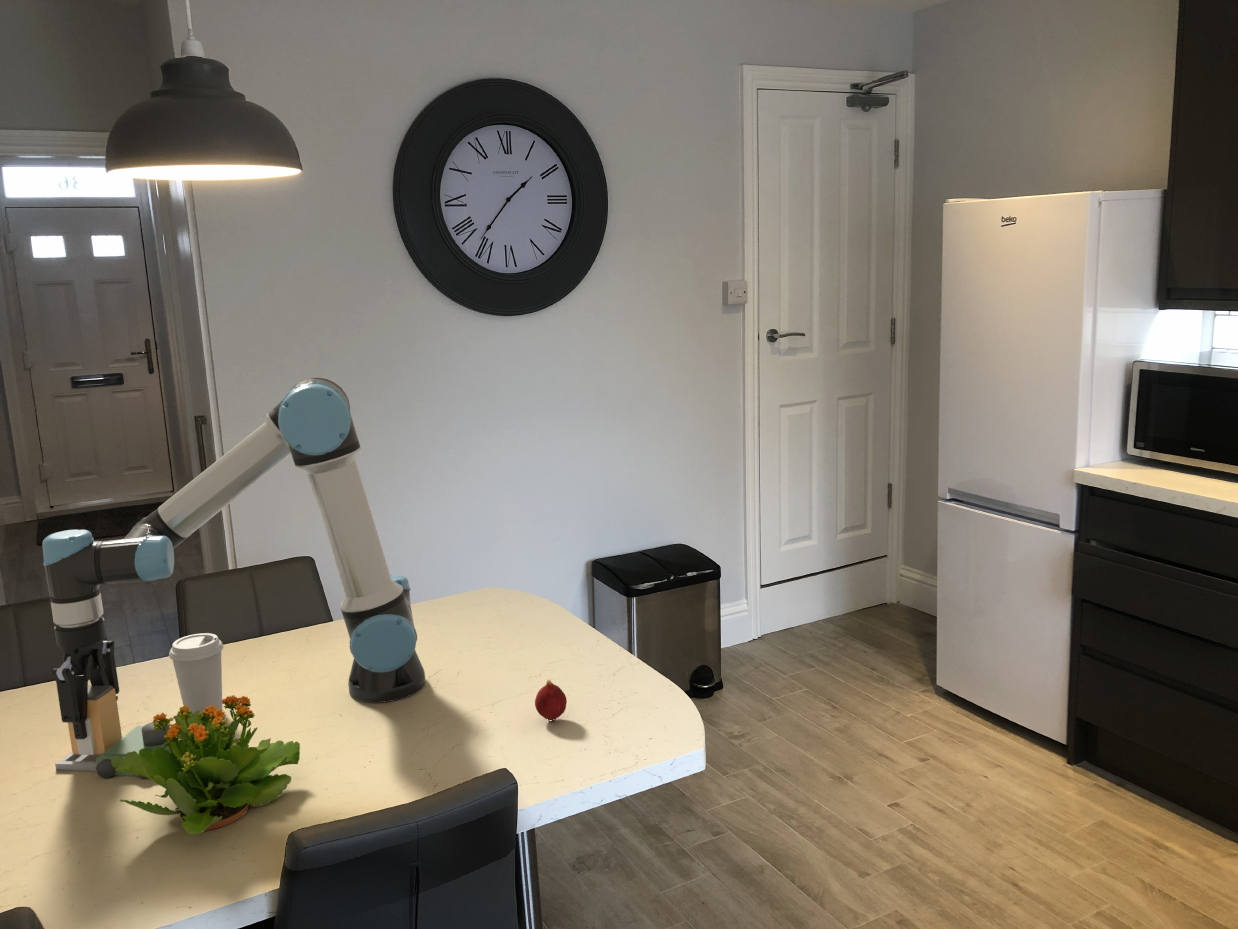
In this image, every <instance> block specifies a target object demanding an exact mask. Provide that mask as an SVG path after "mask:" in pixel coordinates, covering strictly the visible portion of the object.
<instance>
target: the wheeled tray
mask: <svg viewBox="0 0 1238 929" xmlns="http://www.w3.org/2000/svg"><path fill="white" fill-rule="evenodd" d="M153 727H154V725H153V721H151V722H149V723H146V724H145V725H136V726H134V728H132V730H130V731H129V732H127V733H126V734H125V735H124V736H122V738H121V739H120V740H119V741H117V742H116V743H115V744H114V745H112V746H111V747H110V748H109V749H107V750H106V751H105V752H104V753H102V754H94V755H79V754H73V753H72V751H71V752H69V753H68V754H66V755H65V756H64V757H63V758H61V759H59V760H58V761H57V762H55V770H56V771H68V772H69V771H70V772H71V771H72V772H74V771H77V772H83V771H84V772H96V773H97V775H98V776H99V777H101V778H103V779H108V778H110V777H113V776H129V777H131V776H133V777H134V776H137V777H139V778H140V779H142V780H143V779H144V780H147V779H149V778H147V777H144V776H141V775H137V774H133V773H125V772H116V770H117V767H116V768H113V766H112V764H111V760H112V759H113V758H115V756H116V755H118V756H121V757H123V758H124V757H125V756H124V755H125V754H127V753H128V752H133V751H136V752H137V753H138V754H139V750H140V749H143V748H147V749H149V748H150V749H152V751H153V752H154V750H155V748H156V747H162V748H165V750H168V751H169V748H168V747H167V746H164V745H165V744H164V743H165V742H167V740H166V738H164V736H165V734H164V732H163V730H161V729H158V730H154V728H153ZM170 727H171V726H166V728H165V729H164V730H165V732H166V735H167V731H168V730H169V729H170ZM161 728H162V727H161ZM178 740H181V739H178ZM177 759H178V758H177ZM115 769H116V770H115Z"/></svg>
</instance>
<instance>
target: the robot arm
mask: <svg viewBox="0 0 1238 929" xmlns="http://www.w3.org/2000/svg"><path fill="white" fill-rule="evenodd" d="M265 417H266V418H265V419H266V420H265V422H263V423H262V424H261V425H260V426H259V427H257V428H256V429H255V430H253V431H252V432H251V433H250V434H248V435H247V436H246V437H245V438H244V439H242V440H241V441H240V442H238V443H237V444H236V445H235V446H233V447H232V448H231V449H229V450H228V451H227V452H226V453H225V454H223V455H222V456H221V457H220V458H218V459H217V460H216V461H215V462H213V463H212V464H211V465H210V466H208V467H207V468H205V469H204V470H203V471H202V472H200V474H198V475H197V476H196V477H194V478H193V479H192V480H191V481H190V482H188V483H187V484H186V485H184V486H183V487H182V488H180V489H179V490H178V491H177V492H176V493H175V494H173V495H172V496H171V497H169V498H168V499H167V500H166V501H164V502H163V503H162V504H161V505H159V506H158V508H156V509H155V510H154V511H152V512H151V513H149V515H147V516H146V517H143V518H142V519H140V520H139V521H138V522H136V524H134V525H133V526H132V528H131V530H130V531H129V532H128V533H127V534H126V535H125V537H124V538H118V539H112V540H95V539H94V537H93V534H92V532H91V531H90V530H87V529H67V530H62V531H58V532H54V533H51V534H48V535H47V536H46V537H45V538H44V539H43V540H42V544H41V545H42V554H43V557H42V558H43V563H42V564H43V565H42V566H44V572H45V578H46V582H47V590H48V593H49V600H50V606H51V613H52V620H53V624H55V626H54V627H53V628H54V634H55V642H56V645H57V647H58V648H60V649H61V650H62V651H63V659H62V665H61V666H60V667H59V668H58V667H57V668H56V667H55V668H53V669H52V671H51V674H52V676H53V678H54V680H55V682H56V684H55V685H56V689H57V690H56V692H57V697H58V703H59V711H60V717H61V722H62V723H67V724H68V723H73V728H74V735H75V738H76V740H77V746H78V753H79V755H94V754H95V753H96V748H95V742H94V735H93V728H92V722H91V718H87V700H88V685H89V684H88V683H89V682H90V685H106V686H113V688H115V693H116V700H117V701H118V700H119V697H118V694H119V692H120V685H119V684H120V683H119V678H118V672H117V666H116V659H115V641H114V640H105V638H106V636H107V630H106V622H105V618H104V617H103V616H102V615H104V608H103V601H102V593H101V589H100V586H104V585H112V584H113V585H114V584H115V585H116V584H125V583H126V584H127V583H135V582H136V583H137V582H153V581H155V580H161V579H167V578H169V577H170V576H172V574H173V572H174V566H175V552H174V549H175V548H177V547H178V546H179V545H180V544H181V543H184V541H185V540H187V538H189V537H190V536H192V534H193V533H194V532H196V531H197V530H198V529H200V528H201V527H202V526H203V525H205V524H206V523H207V522H208V521H210V520H211V519H212V518H214V516H216V515H217V514H218V513H219V512H221V511H222V510H223V509H225V508H226V507H228V506H229V504H231V503H233V501H235V500H236V499H237V498H239V497H240V496H241V495H242V494H244V493H245V492H246V491H247V490H249V489H250V488H251V487H252V486H254V485H255V484H256V483H257V482H259V481H260V480H261V479H262V478H264V477H265V476H266V475H267V474H268V473H270V472H271V471H272V470H274V469H275V468H276V467H278V465H280V464H281V463H283V462H284V461H285V460H286V459H287V458H289V457H290V456H291V457H292V460H293V463H294V466H295V467H296V468H297V469H299V470H301V471H303V472H305V473H306V475H307V478H308V480H309V484H310V486H311V491H312V494H313V497H314V501H315V504H316V506H317V509H318V512H319V516H320V519H321V521H322V522H321V523H322V526H323V528H324V531H325V534H326V538H327V540H328V544H329V547H330V550H331V554H332V557H333V560H334V563H335V566H336V569H337V573H338V576H339V579H340V582H341V584H342V588H343V592H344V594H345V595H344V597H343V600H342V602H341V603H340V604H339V605H340V610H341V614H342V617H343V620H344V623H345V624H344V625H345V626H346V630H347V633H348V636H349V650H350V653H351V655H352V657H353V661H352V665H351V668H350V673H349V677H348V683H347V684H348V693H349V695H350V697H352V698H353V699H355V700H357V701H361V702H366V703H387V702H388V703H389V702H394V701H398V700H402V699H405V698H409V697H410V696H413V695H415V694H417V693H419V692H420V691H422V689H423V688H424V687H425V686H426V685H425V684H426V673H425V672H426V671H425V669H424V667H423V664H422V662H421V661H420V657H419V656H418V654H417V651H416V645H417V641H418V632H417V631H416V628H415V623H414V618H413V612H412V611H413V610H412V606H411V594H410V591H411V587H410V584H409V579H408V578H407V577H406V576H404V575H399V574H390V570H389V567H388V564H387V561H386V557H385V555H384V551H383V547H382V544H381V540H380V538H379V534H378V530H377V526H376V525H375V520H374V518H373V514H372V511H371V507H370V504H369V501H368V500H369V499H368V498H367V494H366V490H365V488H364V484H363V481H362V477H361V475H360V471H359V467H358V465H357V461H356V458H357V456H358V455H359V452H360V450H361V449H362V448H361V443H360V441H359V437H358V434H357V430H356V427H355V424H354V421H353V417H352V413H351V404H350V400H349V398H348V396H347V394H346V392H345V391H344V390H343V388H342V387H341V386H340V385H339V384H337V383H336V382H334V381H332V380H330V379H329V378H328V379H327V378H324V377H309V378H306V379H304V380H303V379H302V380H301V381H299V382H297V384H295V385H294V386H292V388H291V389H289V391H288V392H287V393H286V395H285V396H284V397H283V398H282V400H280V401H279V402H278V404H276V405H275V406H274V407H273V408H272V409H271V410H269V411H268V412H267V413H266V416H265ZM79 713H80V714H79Z"/></svg>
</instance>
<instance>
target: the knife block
mask: <svg viewBox="0 0 1238 929" xmlns="http://www.w3.org/2000/svg"><path fill="white" fill-rule="evenodd" d="M116 696H117V694H116V693H115V688H113V686H106V685H91V684H90V685H89V684H88V700H87V718H91V722H92V728H93V735H94V742H95V748H96V753H95V754H102V753H104V752H105V751H106V750H107V749H109V748H110V747H111V746H112V745H114V744H115V743H116V742H117V741H119V740H120V739H121V738H122V737H123V736H122V735H123V734H122V727H121V721H120V714H119V713H120V712H119V708H118V706H119V705H118V702H117V701H118V700H116ZM79 714H80V713H79ZM67 726H68V733H69V734H68V735H69V739H70V740H69V741H70V745H71V752H72V753H73V754H79V753H78V746H77V740H76V738H75V735H74V728H73V723H67Z"/></svg>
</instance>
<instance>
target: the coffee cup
mask: <svg viewBox="0 0 1238 929" xmlns="http://www.w3.org/2000/svg"><path fill="white" fill-rule="evenodd" d="M171 645H172V647H171V648H170V650H169V652H168V653H169V654H168V658H170V659H171V660H172V663H173V668H174V672H175V676H176V679H177V680H176V681H177V684H178V688H179V693H180V698H181V701H182V707H184V705H187V706H188V707H189V708H190V709H189V710H188V712H189V711H190V710H192V713H193V714H194V712H196V711H200V712H202V711H203V710H205V709H204V708H206V707H208V706H214V707H215V708H216V707H218V709H219V710H222V711H223V704H222V700H223V680H222V679H223V678H222V677H223V676H222V675H223V674H222V672H223V671H222V651H223V650H224V644H223V642H222V641H221V639H219V637H218V635H216V634H214V633H211V632H210V633H209V632H205V633H201V632H200V633H195V634H190V635H187V636H186V635H185V636H183V637H180V638H178V639H176V640H175V641H174V642H173V643H172V644H171Z"/></svg>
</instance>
